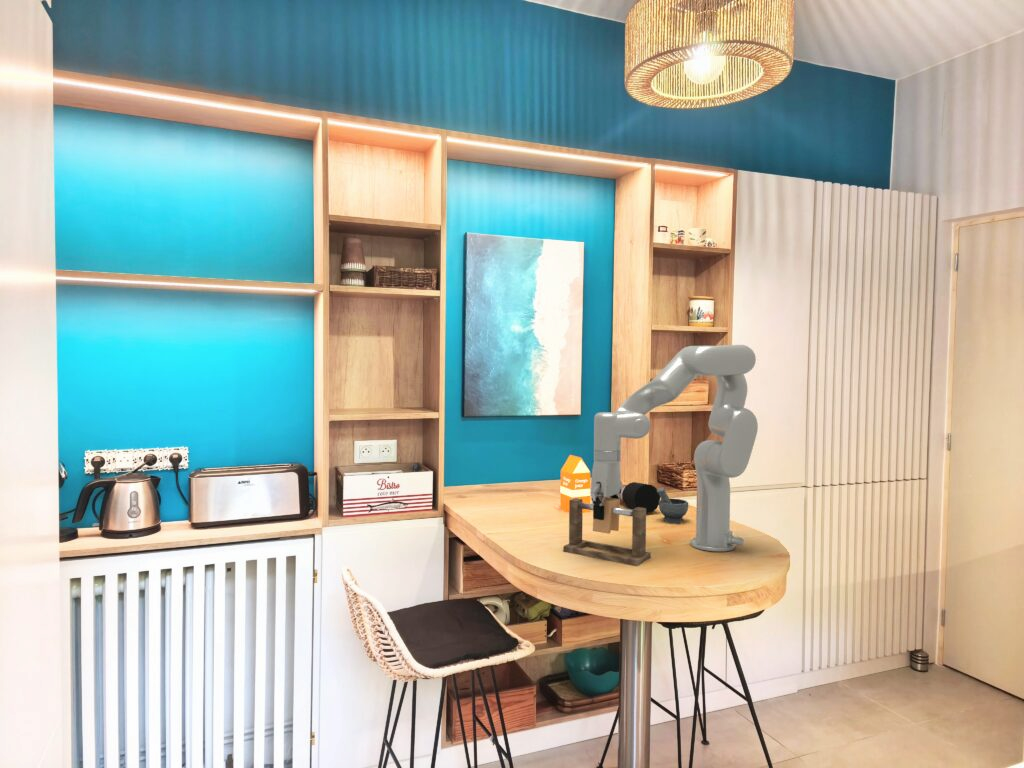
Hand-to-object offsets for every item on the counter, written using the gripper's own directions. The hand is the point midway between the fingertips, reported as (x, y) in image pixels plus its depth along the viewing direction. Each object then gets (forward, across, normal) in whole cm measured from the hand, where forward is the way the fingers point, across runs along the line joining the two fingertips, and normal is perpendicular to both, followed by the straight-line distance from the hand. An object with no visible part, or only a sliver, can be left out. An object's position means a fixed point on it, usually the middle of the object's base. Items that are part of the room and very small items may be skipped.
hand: (606, 515), depth 186 cm
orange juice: (+11, -42, -34) cm, 55 cm away
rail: (-1, 0, 0) cm, 1 cm away
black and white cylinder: (+12, -61, -23) cm, 66 cm away
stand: (+11, 0, 0) cm, 11 cm away
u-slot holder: (+4, 0, 0) cm, 4 cm away
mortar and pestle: (+11, -47, +1) cm, 48 cm away
